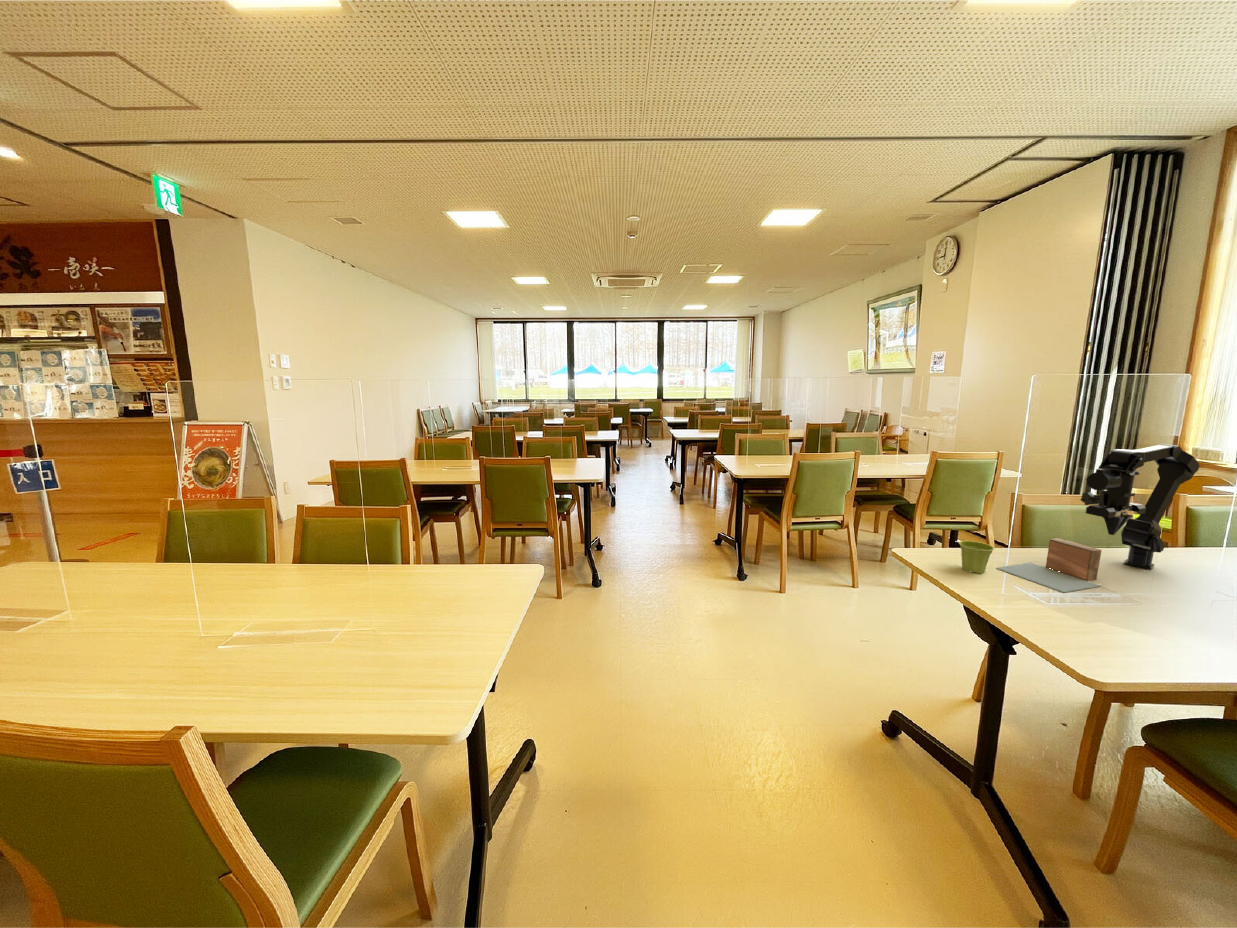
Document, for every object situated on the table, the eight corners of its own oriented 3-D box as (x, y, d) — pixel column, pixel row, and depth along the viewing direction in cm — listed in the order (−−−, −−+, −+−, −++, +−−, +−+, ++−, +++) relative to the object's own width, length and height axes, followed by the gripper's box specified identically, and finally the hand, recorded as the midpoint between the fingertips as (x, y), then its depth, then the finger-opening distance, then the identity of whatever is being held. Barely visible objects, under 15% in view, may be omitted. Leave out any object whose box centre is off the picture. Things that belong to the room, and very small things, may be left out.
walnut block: (1054, 566, 167) (1058, 538, 165) (1096, 579, 156) (1101, 549, 154) (1044, 567, 166) (1049, 539, 164) (1086, 581, 154) (1092, 551, 153)
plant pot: (967, 563, 170) (970, 539, 168) (997, 573, 161) (1000, 547, 160) (949, 567, 166) (952, 542, 165) (979, 577, 158) (982, 551, 156)
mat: (1030, 563, 169) (1030, 562, 169) (1100, 586, 151) (1100, 585, 150) (996, 568, 165) (996, 567, 165) (1063, 592, 146) (1063, 592, 146)
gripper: (1108, 481, 170) (1101, 525, 172) (1070, 485, 164) (1063, 530, 167) (1150, 488, 159) (1142, 534, 162) (1111, 492, 154) (1103, 540, 157)
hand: (1111, 534), depth 162 cm, fingers closed
